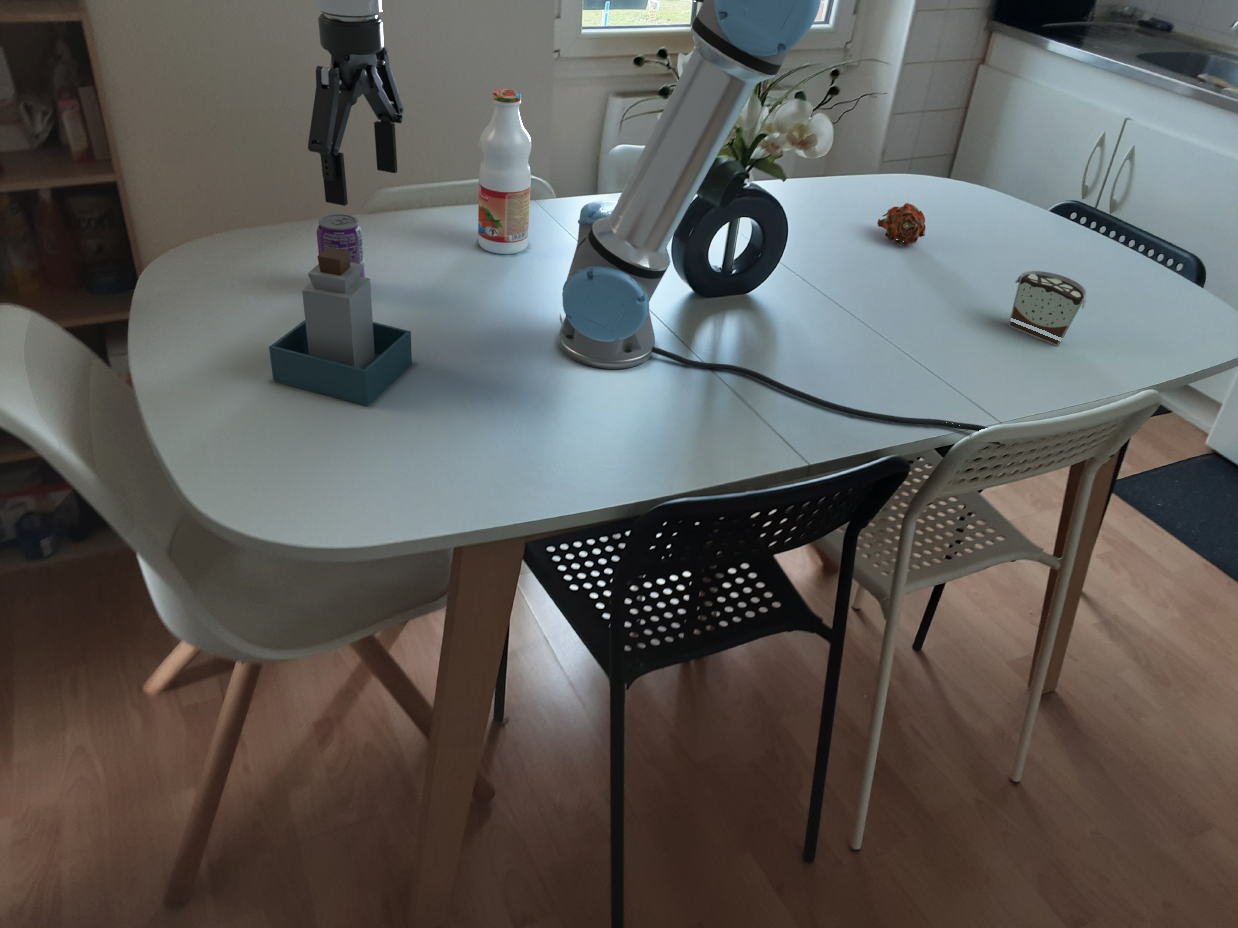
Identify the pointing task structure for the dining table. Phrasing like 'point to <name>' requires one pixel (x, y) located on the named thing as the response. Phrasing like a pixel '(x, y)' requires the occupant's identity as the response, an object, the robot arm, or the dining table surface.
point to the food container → (1046, 303)
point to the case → (342, 365)
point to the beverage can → (341, 236)
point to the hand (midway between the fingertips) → (363, 186)
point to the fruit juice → (504, 178)
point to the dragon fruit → (903, 224)
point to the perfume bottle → (339, 311)
